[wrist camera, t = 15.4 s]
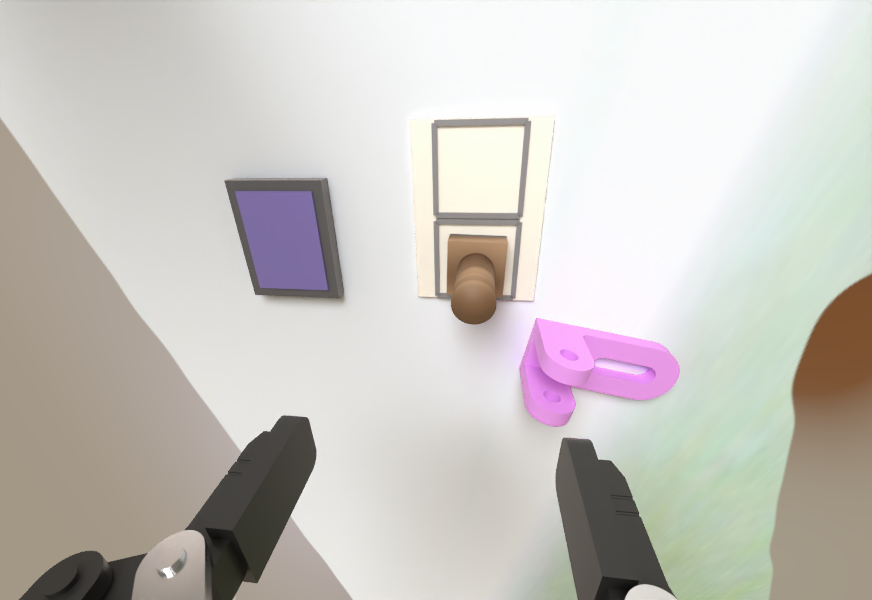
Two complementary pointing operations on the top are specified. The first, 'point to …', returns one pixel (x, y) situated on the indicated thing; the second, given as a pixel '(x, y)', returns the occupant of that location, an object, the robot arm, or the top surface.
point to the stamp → (475, 275)
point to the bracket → (587, 368)
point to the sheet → (480, 193)
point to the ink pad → (287, 235)
